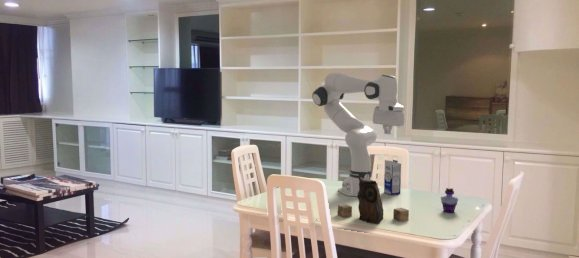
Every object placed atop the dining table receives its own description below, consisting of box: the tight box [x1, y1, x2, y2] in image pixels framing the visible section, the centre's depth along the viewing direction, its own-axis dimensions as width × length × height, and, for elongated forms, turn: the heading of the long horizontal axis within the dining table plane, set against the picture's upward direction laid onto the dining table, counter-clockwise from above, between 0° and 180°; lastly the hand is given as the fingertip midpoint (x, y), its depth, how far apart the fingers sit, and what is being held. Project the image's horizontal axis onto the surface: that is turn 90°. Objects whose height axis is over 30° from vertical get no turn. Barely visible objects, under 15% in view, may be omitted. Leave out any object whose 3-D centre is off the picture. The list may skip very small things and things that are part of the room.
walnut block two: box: [392, 207, 410, 222], centre depth 219 cm, size 5×5×5 cm
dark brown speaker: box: [356, 177, 384, 225], centre depth 218 cm, size 13×13×20 cm
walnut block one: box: [337, 203, 353, 219], centre depth 225 cm, size 5×5×5 cm
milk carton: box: [383, 159, 402, 196], centre depth 271 cm, size 7×7×20 cm
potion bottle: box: [440, 187, 459, 214], centre depth 233 cm, size 9×9×12 cm
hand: (387, 133), depth 234 cm, fingers closed
